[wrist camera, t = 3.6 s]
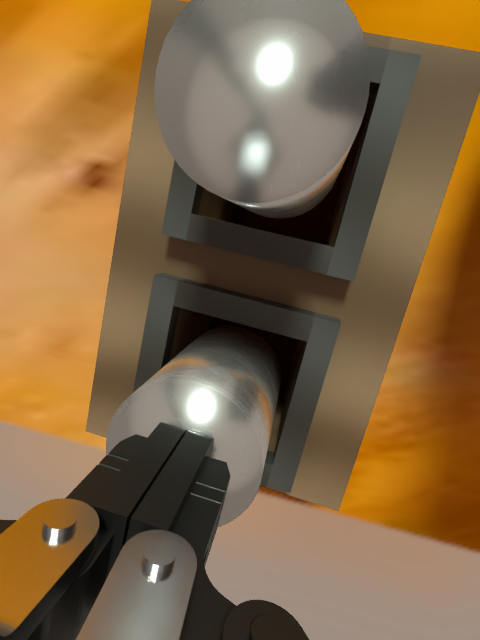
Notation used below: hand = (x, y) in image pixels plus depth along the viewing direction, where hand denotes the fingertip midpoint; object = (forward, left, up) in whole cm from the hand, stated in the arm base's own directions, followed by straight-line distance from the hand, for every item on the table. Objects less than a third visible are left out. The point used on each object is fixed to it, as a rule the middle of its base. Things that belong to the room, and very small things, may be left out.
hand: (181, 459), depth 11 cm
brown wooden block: (-5, 0, -13) cm, 14 cm away
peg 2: (0, 0, -7) cm, 7 cm away
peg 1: (-9, 0, -6) cm, 11 cm away
